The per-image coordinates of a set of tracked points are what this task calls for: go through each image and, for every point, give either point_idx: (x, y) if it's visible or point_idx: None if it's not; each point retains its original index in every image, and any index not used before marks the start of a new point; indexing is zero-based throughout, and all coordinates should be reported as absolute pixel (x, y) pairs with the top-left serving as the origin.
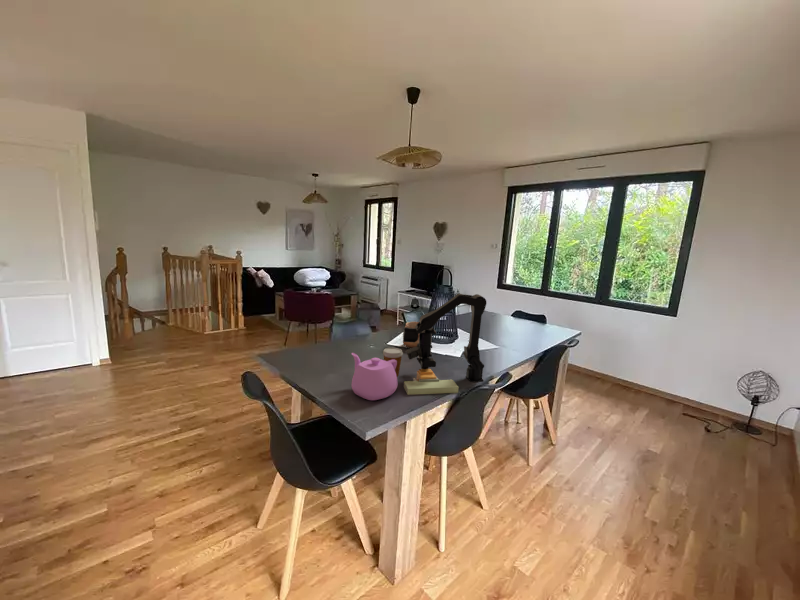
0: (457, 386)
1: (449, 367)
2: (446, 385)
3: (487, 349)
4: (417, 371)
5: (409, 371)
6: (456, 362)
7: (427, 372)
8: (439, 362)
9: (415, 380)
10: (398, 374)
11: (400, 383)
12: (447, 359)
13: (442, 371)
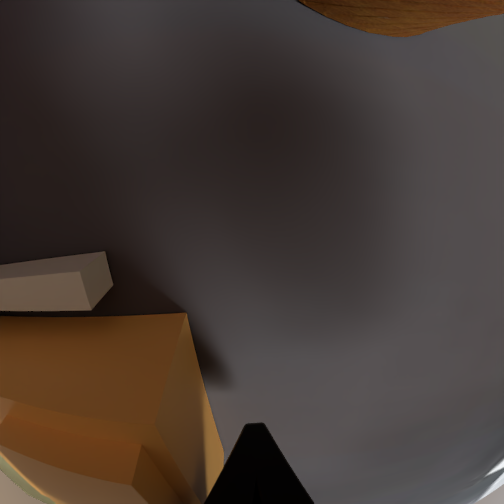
0: (32, 496)
1: (417, 490)
2: (9, 469)
3: (479, 498)
4: (114, 423)
5: (478, 237)
6: (452, 487)
7: (56, 498)
8: (495, 438)
9: (2, 288)
10: (338, 11)
11: (28, 63)
12: (497, 453)
13: (375, 486)
